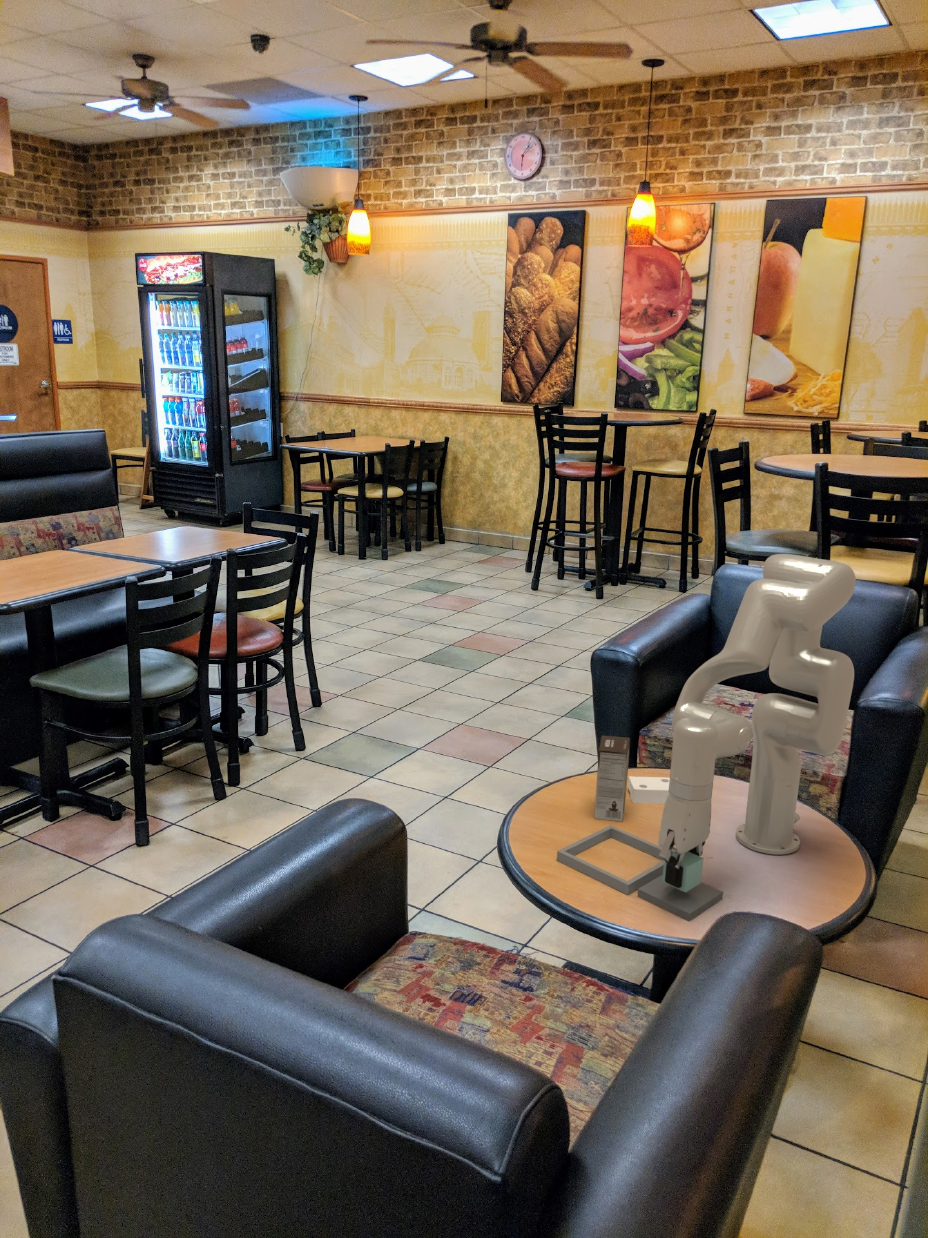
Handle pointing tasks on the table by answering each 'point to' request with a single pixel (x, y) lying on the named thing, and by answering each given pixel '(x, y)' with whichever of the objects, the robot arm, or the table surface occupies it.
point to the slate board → (680, 898)
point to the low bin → (603, 876)
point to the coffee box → (612, 778)
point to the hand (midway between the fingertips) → (681, 878)
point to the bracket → (648, 789)
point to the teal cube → (688, 871)
